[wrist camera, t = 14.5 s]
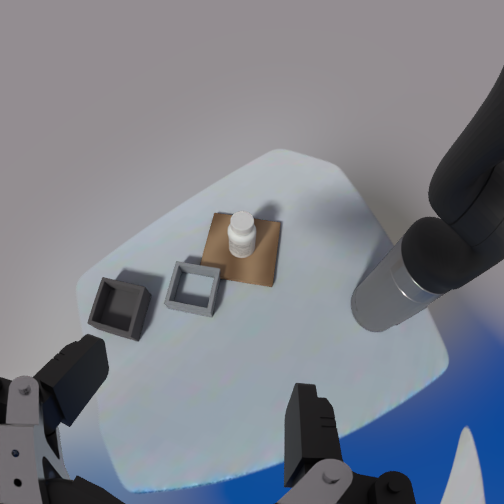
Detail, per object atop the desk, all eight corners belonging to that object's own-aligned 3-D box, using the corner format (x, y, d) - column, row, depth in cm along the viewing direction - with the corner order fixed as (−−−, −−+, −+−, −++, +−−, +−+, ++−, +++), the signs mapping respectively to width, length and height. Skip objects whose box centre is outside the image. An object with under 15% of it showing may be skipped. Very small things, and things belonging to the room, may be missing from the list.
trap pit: (151, 295, 43) (144, 286, 40) (138, 341, 39) (130, 336, 36) (110, 285, 43) (102, 277, 40) (97, 328, 40) (87, 323, 36)
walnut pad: (279, 225, 51) (280, 222, 50) (271, 286, 45) (272, 284, 44) (214, 216, 51) (214, 212, 50) (198, 274, 45) (198, 272, 44)
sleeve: (221, 275, 45) (220, 268, 43) (211, 317, 42) (210, 312, 40) (179, 268, 46) (176, 261, 43) (168, 308, 42) (164, 303, 40)
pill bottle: (237, 231, 48) (237, 203, 42) (259, 243, 47) (263, 216, 41) (223, 250, 46) (220, 223, 40) (245, 263, 45) (246, 238, 39)
